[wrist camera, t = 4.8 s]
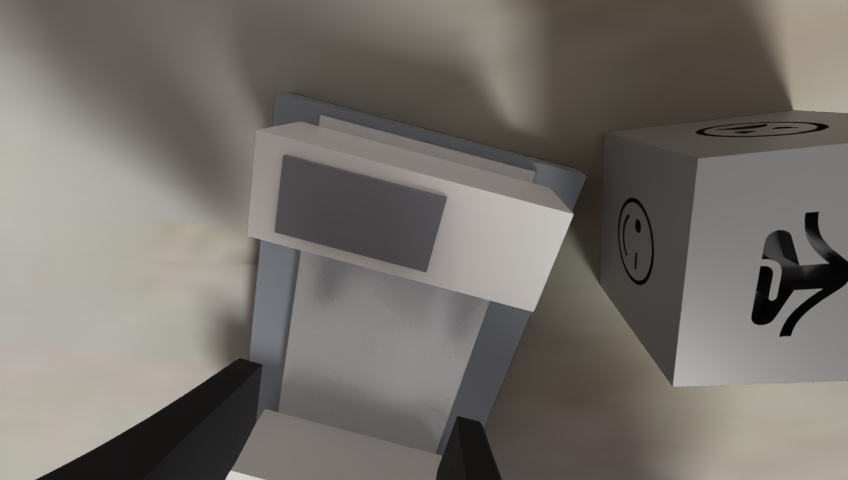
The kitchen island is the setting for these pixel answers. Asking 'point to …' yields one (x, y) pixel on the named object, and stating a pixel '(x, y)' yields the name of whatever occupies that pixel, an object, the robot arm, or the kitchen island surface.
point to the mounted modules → (389, 262)
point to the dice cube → (732, 246)
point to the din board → (385, 313)
